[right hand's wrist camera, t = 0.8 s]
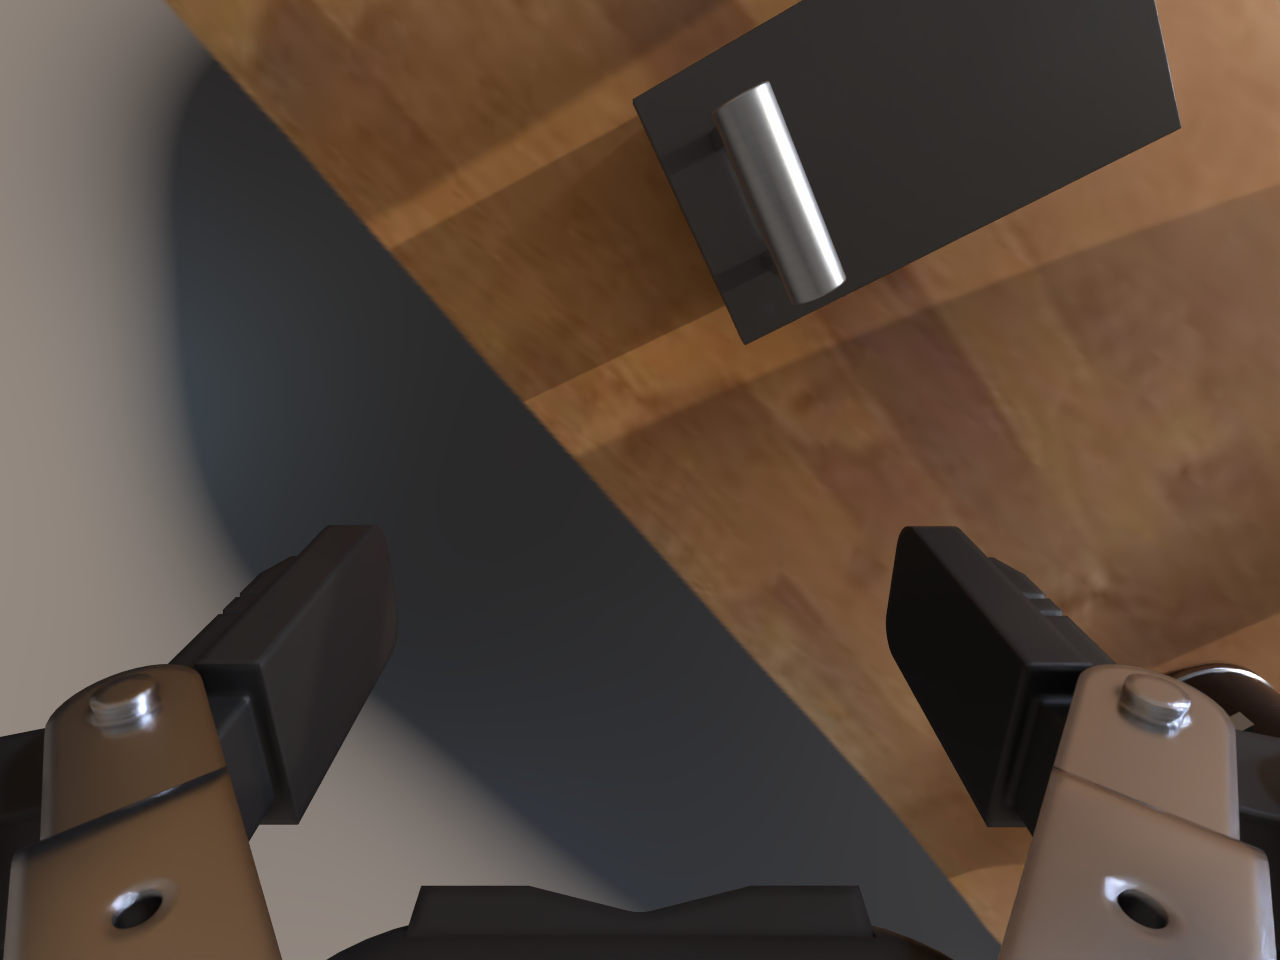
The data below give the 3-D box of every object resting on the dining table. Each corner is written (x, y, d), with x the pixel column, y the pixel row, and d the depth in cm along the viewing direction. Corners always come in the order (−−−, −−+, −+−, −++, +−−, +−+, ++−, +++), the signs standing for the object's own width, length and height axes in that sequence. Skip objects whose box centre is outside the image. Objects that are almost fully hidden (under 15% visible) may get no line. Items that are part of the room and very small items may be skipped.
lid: (741, 341, 28) (778, 395, 20) (632, 102, 25) (626, 57, 17) (1165, 130, 25) (1399, 97, 18) (1100, -169, 22) (1349, -373, 14)
